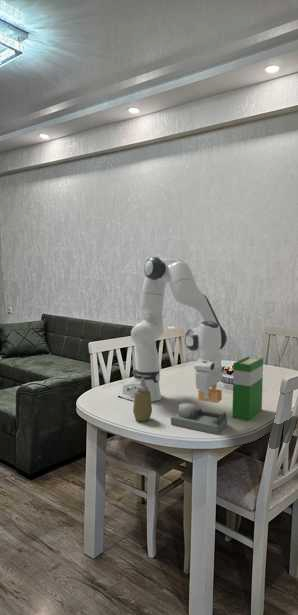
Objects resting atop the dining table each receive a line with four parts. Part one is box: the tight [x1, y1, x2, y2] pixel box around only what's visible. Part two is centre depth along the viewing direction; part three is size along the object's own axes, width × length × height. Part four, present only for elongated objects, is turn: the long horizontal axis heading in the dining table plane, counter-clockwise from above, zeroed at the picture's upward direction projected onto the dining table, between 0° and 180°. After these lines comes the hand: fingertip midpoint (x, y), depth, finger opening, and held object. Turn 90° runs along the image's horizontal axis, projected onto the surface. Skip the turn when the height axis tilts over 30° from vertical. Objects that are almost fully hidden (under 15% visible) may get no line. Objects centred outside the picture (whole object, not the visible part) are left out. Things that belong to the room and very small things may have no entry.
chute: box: [197, 387, 223, 404], centre depth 163 cm, size 8×5×4 cm, turn 60°
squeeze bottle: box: [132, 378, 153, 422], centre depth 170 cm, size 8×8×18 cm
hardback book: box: [231, 356, 264, 422], centre depth 179 cm, size 18×7×24 cm, turn 147°
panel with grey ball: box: [170, 402, 229, 435], centre depth 165 cm, size 20×12×7 cm, turn 60°
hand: (209, 396), depth 163 cm, fingers closed on chute, 5 cm apart
